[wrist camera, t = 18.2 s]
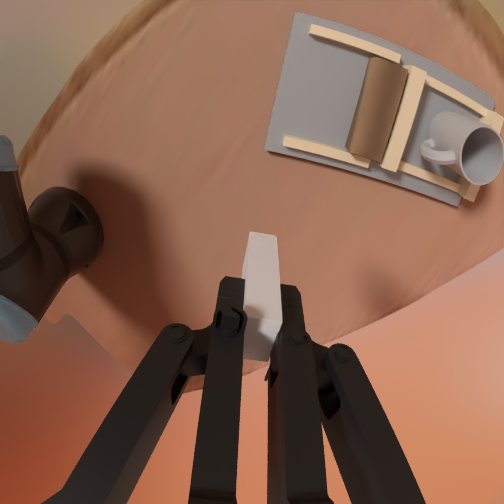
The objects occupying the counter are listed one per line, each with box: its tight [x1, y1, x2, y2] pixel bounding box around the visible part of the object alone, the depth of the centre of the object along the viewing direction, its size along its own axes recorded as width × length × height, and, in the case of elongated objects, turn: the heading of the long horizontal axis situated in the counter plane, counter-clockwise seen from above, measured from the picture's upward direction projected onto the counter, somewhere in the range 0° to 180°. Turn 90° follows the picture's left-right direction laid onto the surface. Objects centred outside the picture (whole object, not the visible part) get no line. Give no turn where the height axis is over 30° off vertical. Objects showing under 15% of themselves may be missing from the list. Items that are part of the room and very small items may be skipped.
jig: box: [264, 12, 504, 207], centre depth 32 cm, size 30×18×4 cm, turn 79°
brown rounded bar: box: [345, 57, 408, 162], centre depth 31 cm, size 4×12×3 cm, turn 169°
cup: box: [419, 111, 504, 185], centre depth 29 cm, size 7×10×9 cm
